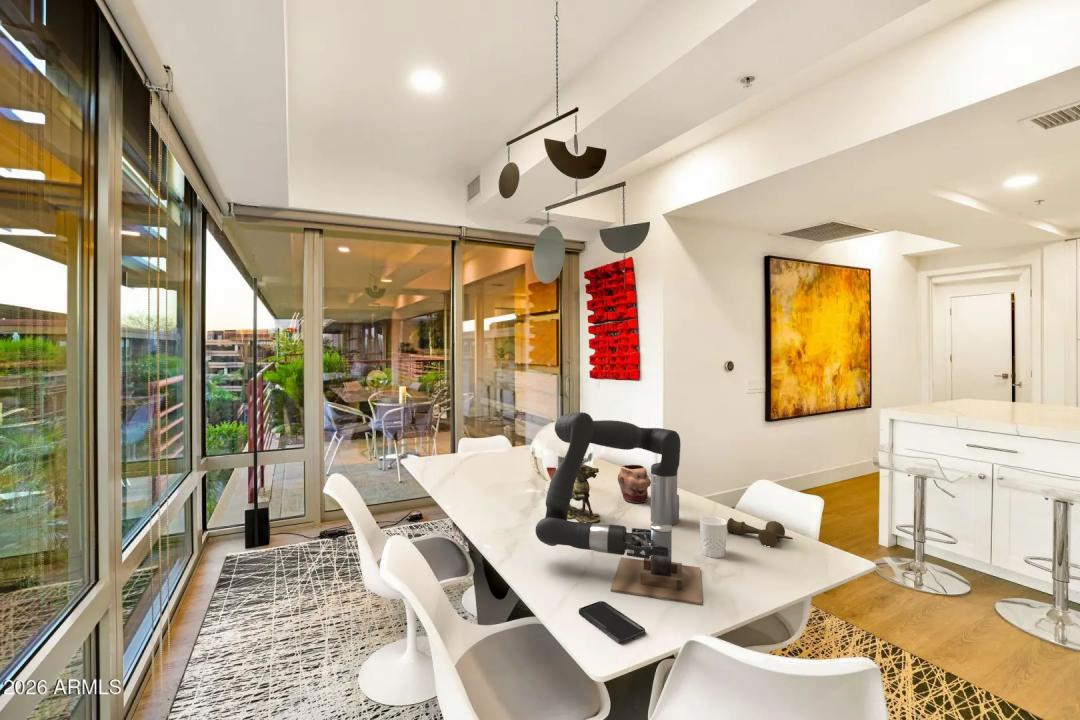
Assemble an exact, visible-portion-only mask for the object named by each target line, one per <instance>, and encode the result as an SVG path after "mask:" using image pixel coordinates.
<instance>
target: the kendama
mask: <svg viewBox="0 0 1080 720" xmlns="http://www.w3.org/2000/svg"><path fill="white" fill-rule="evenodd" d="M733 533H736V534H737V533H738V534H740V535H741V536H744V535H745V534H747V535H748V534H749V535H750V534H751V535H757V537H758V541H759V542H760V544H761V545H762V544H763V545H762V546H764V545H766V546H765V547H767V546H770V547H769V548H773V547H775V546H776V545H777V542H778V540H777V539H780V540H782V539H784V540H785V539H786V540H791V541H793V540H794V538H793V537H791V536H788V535H786V529H785V527H784V526H783V524H782V523H781V522H778V521H776V520H775V521H774V520H770V521H768V522H767V523H766V525H765V528H764V529H760V528H757V527H754V526H751V525H749V524H746V522H745V521H737V520H735V519H733V518H732V517H730V518H729V519H728V520H727V534H733Z"/></svg>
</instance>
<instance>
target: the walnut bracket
mask: <svg viewBox="0 0 1080 720" xmlns="http://www.w3.org/2000/svg"><path fill="white" fill-rule="evenodd" d="M650 566H651V558H650V559H645V558H643V559H638V558H631V557H622V556H621V557H620V559H619V562H618V565H617V568H616V570H615V571H616V572H615V575H614V578H613V581H612V584H611V587H610V592H611V593H617V594H618V593H619V594H624V595H631V596H637V597H638V596H639V597H647V598H653V599H658V600H663V601H664V600H665V601H671V602H672V601H673V602H677V603H678V602H679V603H685V604H691V605H697V606H703V596H702V595H703V594H702V591H703V590H702V578H701V566H700V567H699V566H692V565H687V564H686V565H684V564H683V563H682V562H681V563H680V562H675V561H671V577H668V576H661V575H653V574H650Z"/></svg>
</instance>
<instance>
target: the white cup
mask: <svg viewBox="0 0 1080 720" xmlns="http://www.w3.org/2000/svg"><path fill="white" fill-rule="evenodd" d="M727 522H728V520H726V519H724V518H722V517H718V516H712V515H711V516H710V515H706V516H701V517H700V518H699V535H700V536H699V537H700V551H701V553H702V555H704V556H707V557H709V558H714V559H720V558H724V557H725V555H726V547H727V536H728V531H727Z"/></svg>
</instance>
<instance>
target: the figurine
mask: <svg viewBox="0 0 1080 720" xmlns="http://www.w3.org/2000/svg"><path fill="white" fill-rule="evenodd" d="M564 457H565V456H564ZM564 457H562V458H561V459H560V463H561V462H562V461H563V459H564ZM599 470H600V469H599V468H598V467H592V466H590V465H586V464H583V463H582V464H581V466H580V469H579V471H578V474H577V477H576V480H575V484H574V488H573V492H572V496H571V500H574V501H576V502H580V501H582V507H581V508H577V507H575V506H574V505H573V506H572V505H571V503H570V504H569V508H568V516H567V520H576V522H584V523H592V524H593V523H594V524H597V523H600V521H601V520H600V518H599V517H600V513H598V512H593V509H592V507H591V502H590V499H589V498H590V496H591V495H590V484H589V481H588V480H589V479H590V478H593V479H595V478H596V477H597V476H598V475H597V474H598V473H599V472H600V471H599ZM586 507H587V508H588V509H586Z"/></svg>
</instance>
